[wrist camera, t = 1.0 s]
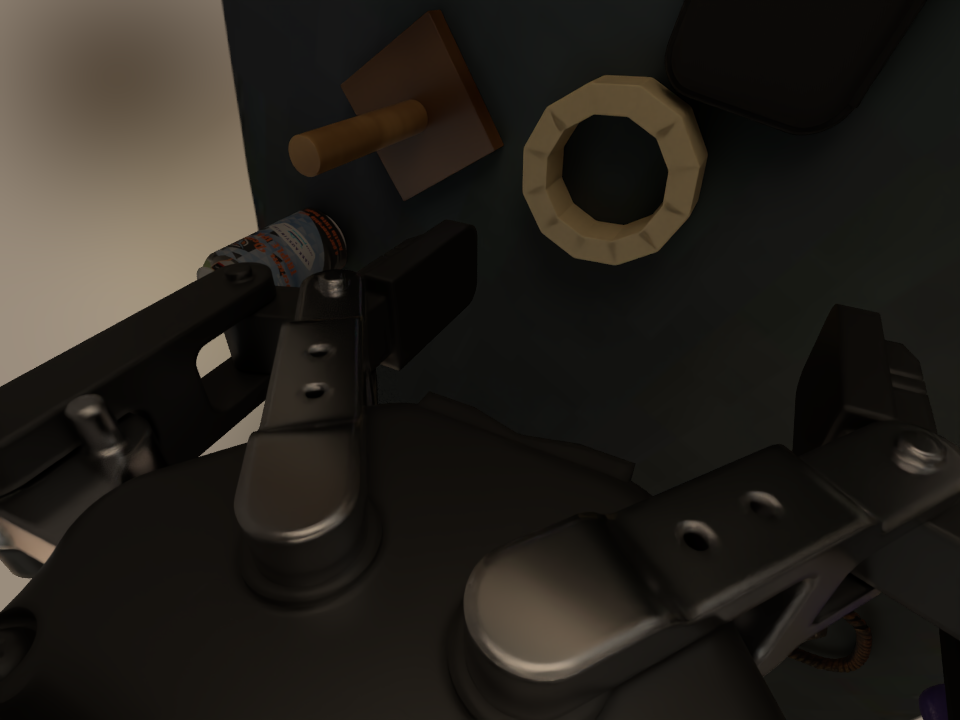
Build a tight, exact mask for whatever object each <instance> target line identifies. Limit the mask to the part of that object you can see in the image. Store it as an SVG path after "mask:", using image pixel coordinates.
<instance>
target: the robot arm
mask: <svg viewBox="0 0 960 720" xmlns="http://www.w3.org/2000/svg"><path fill="white" fill-rule="evenodd" d="M476 285H477V231H476V228H475V227H474V226H473V225H470V224H465V223H460V222H456V221H451V220H444V221H442V222H441V223H439V224H438V225H436V226H435V227H433V228H432V229H430V230H429V231H427V232H426V233H424V234H422V235H419V236H416V237H413V238H409V239H407V240H405V241H403V242H402V243H400V244H399V245H397V246H396V247H394V249H391V250H390V251H388V252H387V253H385V254H384V256H380V257H379V258H377V259H376V260H374V261H373V262H371V263H370V264H368V265H367V266H365V267H364V268H362V269H361V270H359V271H357V272H354V271H351V270H345V269H332V270H325V271H321V272H317V273H315V274H312V275H310V276H309V277H307V278H306V279H304V280H303V282H302V283H301V285H300V287H287V286H275V284H274V279H273V275H272V271H271V269H270V268H269V267H268V266H267V265H265V264H261V263H256V262H241V263H235V264H230V265H227V266H224V267H221V268H219V269H217V270H215V271H213V272H211V273H209V274H207V275H205V276H204V277H202V278H200V279H198V280H196V281H195V282H192V283H191V284H189V285H187V286H185V287H183V288H182V289H180V290H178V291H176V292H174V293H172V294H170V295H169V296H167V297H165V298H163V299H161V300H159V301H158V302H156V303H154V304H152V305H150V306H148V307H146V308H145V309H143V310H141V311H139V312H137V313H135V314H133V315H132V316H130V317H128V318H126V319H124V320H122V321H121V322H119V323H117V324H115V325H113V326H112V327H110V328H108V329H106V330H104V331H102V332H100V333H98V334H97V335H95V336H93V337H91V338H89V339H87V340H86V341H84V342H82V343H80V344H78V345H76V346H75V347H73V348H71V349H69V350H67V351H66V352H63V353H62V354H60V355H58V356H56V357H54V358H52V359H51V360H49V361H47V362H45V363H43V364H41V365H39V366H38V367H36V368H34V369H32V370H30V371H29V372H27V373H25V374H23V375H21V376H19V377H17V378H16V379H14V380H12V381H10V382H8V383H7V384H5V385H3V386H1V387H0V560H1V561H2V562H3V563H4V564H5V565H6V566H7V568H8V569H9V570H10V571H11V572H12V573H13V574H14V575H16V576H18V577H22V578H32V580H31V581H30V582H29V583H28V584H27V585H26V586H25V588H24V589H23V590H22V591H21V592H20V593H19V594H18V595H17V596H16V597H15V598H14V599H13V600H12V601H11V602H10V603H9V604H8V605H7V606H6V607H5V608H4V609H3V610H2V611H1V612H0V720H786V719H785V717H784V715H783V713H782V711H781V709H780V708H779V706H778V704H777V702H776V700H775V698H774V697H773V695H772V693H771V691H770V689H769V687H768V685H767V684H766V682H765V680H764V678H763V676H765V675H766V674H767V673H769V672H770V671H771V670H773V669H774V668H775V667H776V666H777V665H779V664H780V663H781V662H782V661H783V660H784V659H785V658H786V657H787V656H788V655H789V654H790V653H791V652H792V651H793V650H794V649H796V648H797V647H798V646H799V645H800V644H802V643H803V642H804V641H806V640H807V639H809V638H810V637H812V636H813V635H815V634H817V633H818V632H820V631H821V630H823V629H825V628H826V627H828V626H829V625H831V624H833V623H834V622H836V621H837V620H839V619H840V618H842V617H844V616H845V615H847V614H848V613H850V612H852V611H853V610H855V609H856V608H858V607H859V606H861V605H863V604H864V603H866V602H867V601H869V600H871V599H872V598H874V597H875V596H877V595H878V594H880V593H881V592H882V593H884V594H885V595H887V596H888V597H890V598H892V599H893V600H895V601H896V602H898V603H900V604H901V605H903V606H905V607H906V608H908V609H909V610H911V611H913V612H914V613H916V614H917V615H919V616H921V617H922V618H924V619H925V620H927V621H929V622H930V623H932V624H934V625H935V626H937V627H938V628H939V634H940V644H941V654H942V664H943V673H944V683H945V693H946V703H947V713H948V720H960V448H958V447H957V446H956V445H955V444H953V443H952V442H950V441H949V440H947V439H946V438H944V437H942V436H941V435H939V434H938V433H937V429H936V425H935V421H934V417H933V413H932V409H931V405H930V402H929V398H928V395H926V393H927V390H926V386H925V382H924V381H923V374H922V370H921V366H920V362H919V361H918V360H917V359H916V357H915V356H914V355H913V354H912V353H911V352H910V351H909V350H908V349H907V348H906V347H905V346H904V345H903V344H901V343H896V342H892V341H887V340H885V339H884V334H883V328H882V322H881V317H880V314H879V313H877V312H872V311H868V310H863V309H858V308H854V307H849V306H844V305H840V304H835V305H834V306H833V308H832V309H831V311H830V313H829V315H828V317H827V319H826V321H825V323H824V325H823V327H822V330H821V332H820V334H819V336H818V338H817V340H816V343H815V345H814V347H813V349H812V351H811V353H810V355H809V358H808V360H807V362H806V364H805V366H804V369H803V371H802V374H801V376H800V379H799V383H798V386H797V391H796V400H795V417H794V435H793V452H792V451H790V450H789V449H788V448H787V447H785V446H784V445H782V444H775V445H772V446H769V447H766V448H764V449H762V450H759V451H757V452H755V453H752V454H750V455H748V456H745V457H743V458H741V459H738V460H736V461H734V462H731V463H729V464H727V465H724V466H722V467H720V468H717V469H715V470H713V471H710V472H708V473H706V474H703V475H701V476H699V477H696V478H694V479H692V480H689V481H687V482H685V483H682V484H680V485H678V486H675V487H673V488H671V489H668V490H666V491H664V492H661V493H659V494H657V495H654V496H652V495H651V494H649V493H648V492H647V491H645V490H644V489H643V488H641V487H640V486H639V485H637V484H635V483H634V482H632V481H631V478H632V474H633V471H634V467H635V463H632V462H629V461H626V460H623V459H621V458H618V457H615V456H612V455H609V454H606V453H604V452H601V451H598V450H595V449H592V448H589V447H586V446H584V445H581V444H577V443H570V442H564V441H558V440H551V439H545V438H539V437H532V436H526V435H521V434H518V433H516V432H514V431H512V430H511V429H509V428H508V427H506V426H504V425H503V424H501V423H499V422H498V421H496V420H494V419H493V418H491V417H490V416H488V415H486V414H485V413H483V412H481V411H480V410H478V409H477V408H475V407H472V406H470V405H467V404H464V403H461V402H458V401H455V400H452V399H450V398H447V397H444V396H441V395H438V394H435V393H432V392H430V391H429V392H428V393H427V394H426V396H425V397H424V398H423V399H422V400H421V401H420V402H419V403H418V404H414V403H387V404H378V389H377V374H376V367H377V366H378V365H379V364H382V365H384V366H387V367H390V368H393V369H396V370H399V371H400V370H401V369H402V368H403V367H404V366H405V365H406V364H407V363H408V362H409V361H410V360H411V359H412V358H414V357H415V356H416V355H417V354H418V353H419V352H420V351H421V350H422V349H423V348H424V347H425V346H426V345H427V344H428V343H429V342H430V341H431V340H432V339H433V338H435V337H436V336H437V335H438V334H439V333H440V332H441V331H442V330H443V329H444V328H445V327H446V326H447V325H448V324H449V323H450V322H451V321H452V320H453V319H454V318H455V317H457V316H458V315H459V314H460V313H461V312H462V311H463V310H464V309H465V308H466V307H467V306H468V305H469V304H470V302H471V301H472V299H473V297H474V294H475V291H476ZM222 333H224V334H225V337H226V340H227V343H228V346H229V349H230V352H231V357H230V358H229V359H227V360H226V361H225V362H223V363H222V364H220V365H219V366H218V367H216V368H215V369H213V370H212V371H211V372H209V373H208V374H206V375H205V376H204V377H202V378H201V377H200V375H199V372H198V370H197V366H196V359H197V356H198V353H199V351H200V350H201V348H202V347H203V346H204V345H206V344H207V343H208V342H210V341H211V340H213V339H215V338H216V337H217V336H219V335H221V334H222ZM263 401H265V405H264V409H263V414H262V419H261V423H260V427H259V429H258V431H256V432H253V433H252V434H251V435H250V437H249V440H248V442H247V443H244V444H241V445H237V446H234V447H230V448H228V449H224V450H220V451H217V452H214V453H210V454H208V455H204V456H200V455H201V454H202V453H204V452H205V451H206V450H207V449H208V448H209V447H211V446H212V445H213V444H214V443H215V442H216V441H218V440H219V439H220V438H221V437H222V436H224V435H225V434H226V433H227V432H228V431H229V430H231V429H232V428H233V427H234V426H235V425H236V424H237V423H239V422H240V421H241V420H242V419H243V418H245V417H246V416H247V415H248V414H249V413H251V412H252V411H253V410H254V409H255V408H256V407H258V406H259V405H260V404H261V403H262V402H263ZM199 456H200V457H199Z"/></svg>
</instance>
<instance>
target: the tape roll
mask: <svg viewBox="0 0 960 720" xmlns="http://www.w3.org/2000/svg"><path fill="white" fill-rule="evenodd" d="M594 114H597V115H610V116H623V117H629V118H630V119H632V120H633V121H634V122H635V123H637V124H638V125H639V126H641V127H642V128H643V129H645V130H646V131H647V132H649V133H650V134H651V135H653V136H654V137H655V138H656V139H657V141H658V144H659V147H660V149H661V152H662V155H663V157H664V160H665V163H666V165H667V168H668V171H669V172H668V178H667V183H666V189H665V194H664V200H663V202H662V204H661V205H660V206H659V207H658V208H657V210H656V211H655V212H654V213H653V214H652V215H650V216H647V217H645V218H642V219H639V220H637V221H634V222H631V223H629V224H626V225H620V224H613V223H607V222H600V221H596V220H595V219H593V218H592V217H591V216H589V215H588V214H587V213H585V212H584V211H583V210H582V209H580V208H579V207H578V206H576V205H575V204H574V203H573V201H572V199H571V197H570V194H569V192H568V190H567V188H566V185H565V183H564V181H563V179H562V169H563V154H564V146H565V144H566V143H567V141H568V139H569V138H570V136H571V135H572V133H573V131H574V130H575V128H576V127H577V125H578V123H579V122H581V121H583V120H585V119H586V118H588V117H590V116H592V115H594ZM707 153H708V152H707V149H706V146H705V144H704V141H703V138H702V135H701V132H700V129H699V126H698V124H697V121H696V118H695V115H694V112H693V109H692V108H691V106H690V105H689V104H687V103H686V102H685V101H683V100H682V99H681V98H679V97H678V96H677V95H675V94H674V93H673V92H671V91H670V90H669V89H667V88H666V87H665V86H663V85H662V84H661V83H660V82H658V81H657V80H656V79H654V78H652V77H635V76H613V75H605V76H602V77H600V78H598V79H596V80H594V81H591V82H589V83H587V84H586V85H584V86H582V87H581V88H579V89H577V90H575V91H574V92H572V93H570V94H568V95H567V96H565V97H563V98H562V99H560V100H558V101H556V102H555V103H553V104H551V105H549V106H548V107H547V108H546V110H545V111H544V113H543V115H542V117H541V118H540V120H539V122H538V124H537V125H536V127H535V129H534V131H533V132H532V134H531V136H530V138H529V140H528V141H527V143H526V145H525V147H524V157H523V194H524V197H525V199H526V201H527V203H528V205H529V207H530V209H531V211H532V214H533V216H534V218H535V220H536V222H537V224H538V226H539V228H540V230H541V232H542V233H543V234H544V235H545V236H547V237H548V238H549V239H551V240H552V241H553V242H554V243H556V244H557V245H558V246H559V247H561V248H562V249H563V250H565V251H566V252H567V253H568V254H570V255H571V256H572V257H574V258H578V259H583V260H589V261H594V262H600V263H605V264H611V265H619V264H622V263H625V262H628V261H631V260H634V259H637V258H640V257H643V256H646V255H649V254H652V253H655V252H657V251H659V250H660V249H661V248H662V247H663V245H664V244H665V243H666V242H667V241H668V240H669V239H670V238H671V237H672V235H673V234H674V233H675V232H676V231H677V230H678V229H679V228H680V227H681V226H682V224H683V223H684V222H685V221H686V220H687V219H688V218H689V216H690V215H691V213H692V211H693V209H694V207H695V205H696V203H697V201H698V199H699V194H700V189H701V185H702V180H703V176H704V171H705V166H706V162H707V157H708V154H707Z"/></svg>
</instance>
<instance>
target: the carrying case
mask: <svg viewBox="0 0 960 720" xmlns="http://www.w3.org/2000/svg"><path fill="white" fill-rule="evenodd" d="M926 1H927V0H685V1H684V3H683V6H682V8H681V11H680V13H679V16H678V18H677V21H676V24H675V26H674V29H673V31H672V34H671V37H670V39H669V42H668V45H667V49H666V53H665V70H666V74H667V77H668V79H669V81H670V83H671V85H672V86H673V87H674V88H675V90H676V91H678V92H679V93H680V94H682V95H684V96H686V97H689V98H691V99H694V100H697V101H700V102H703V103H705V104H708V105H711V106H714V107H716V108H719V109H722V110H725V111H728V112H730V113H733V114H736V115H739V116H741V117H744V118H747V119H750V120H753V121H755V122H758V123H761V124H764V125H767V126H769V127H772V128H775V129H778V130H780V131H783V132H786V133H789V134H793V135H810V134H815V133H819V132H822V131H825V130H827V129H829V128H831V127H833V126H835V125H836V124H838V123H840V122H841V121H842V120H844V119H845V118H846V117H847V116H848V115H849V114H850V113H851V112H852V111H853V110H854V108H857V107H858V106H859V105H860V103H861V101H862V99H863V97H864V95H865V94H866V92H867V91H868V89H869V88H870V86H871V85H872V83H873V82H874V80H875V79H876V77H877V76H878V74H879V73H880V71H881V70H882V68H883V66H884V65H885V63H886V62H887V60H888V59H889V57H890V56H891V54H892V53H893V51H894V50H895V48H896V47H897V45H898V44H899V42H900V40H901V39H902V37H903V36H904V34H905V33H906V31H907V30H908V28H909V27H910V25H911V24H912V22H913V21H914V19H915V18H916V16H917V14H918V13H919V11H920V10H921V8H922V7H923V5H924V4H925V2H926Z"/></svg>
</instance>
